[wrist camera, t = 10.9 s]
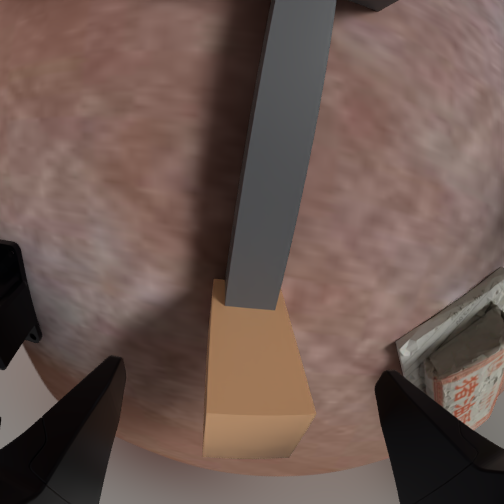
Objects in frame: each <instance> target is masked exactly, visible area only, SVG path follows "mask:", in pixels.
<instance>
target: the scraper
mask: <svg viewBox="0 0 504 504" xmlns="http://www.w3.org/2000/svg"><path fill="white" fill-rule="evenodd" d="M349 1H352V2H355V3H357V4H360V5H363V6H365V7H368V8H370V9H373V10H375V11H378V12H379V11H380V10H382V9H384V8H385V7H387V6H389V5H391V4H393V3H394V2H396V1H398V0H349ZM335 7H336V0H271V5H270V10H269V15H268V20H267V25H266V30H265V35H264V41H263V46H262V51H261V57H260V62H259V68H258V73H257V79H256V84H255V90H254V96H253V101H252V107H251V113H250V119H249V125H248V131H247V137H246V143H245V149H244V155H243V161H242V168H241V174H240V180H239V187H238V193H237V200H236V206H235V213H234V220H233V227H232V233H231V240H230V247H229V254H228V262H227V269H226V276H225V280H222V279H214V281H213V290H212V299H211V309H210V318H209V328H208V343H207V359H206V377H205V397H204V422H203V457H213V458H237V459H266V458H289V457H290V455H291V454H292V452H293V451H294V449H295V448H296V446H297V445H298V443H299V442H300V440H301V438H302V437H303V435H304V434H305V432H306V430H307V429H308V427H309V425H310V424H311V422H312V420H313V419H314V417H315V415H316V412H315V408H314V404H313V401H312V397H311V393H310V390H309V386H308V383H307V379H306V375H305V372H304V368H303V365H302V361H301V358H300V354H299V350H298V347H297V343H296V340H295V336H294V333H293V329H292V326H291V322H290V319H289V316H288V312H287V309H286V305H285V302H284V298H283V295H282V292H281V285H282V281H283V276H284V272H285V268H286V264H287V260H288V255H289V251H290V247H291V242H292V238H293V234H294V229H295V225H296V220H297V216H298V211H299V207H300V202H301V197H302V193H303V188H304V183H305V178H306V174H307V169H308V164H309V159H310V154H311V149H312V144H313V139H314V133H315V128H316V123H317V118H318V112H319V107H320V101H321V96H322V90H323V84H324V78H325V72H326V67H327V60H328V54H329V48H330V42H331V35H332V28H333V21H334V15H335Z"/></svg>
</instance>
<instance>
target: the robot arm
mask: <svg viewBox="0 0 504 504" xmlns="http://www.w3.org/2000/svg"><path fill="white" fill-rule="evenodd" d="M12 251H13V252H12ZM13 253H14V254H13ZM41 338H42V333H41V330H40V327H39V324H38V321H37V317H36V314H35V310H34V307H33V303H32V299H31V295H30V291H29V287H28V283H27V279H26V274H25V269H24V264H23V259H22V253H21V249H20V247H19V245H18V244H17V243H15V242H12V241H6V240H0V369H1V370H5V369H6V368H7V366H8V364H9V363H10V361H11V360H12V358H13V357H14V355H15V354H16V352H17V350H18V349H19V347H20V346H21V344H22V343H23V341H24V340H28V341H31V342H34V343H38V342H39V341H40V340H41ZM125 382H126V372H125V366H124V361H123V358H121V357H118V356H112V355H111V356H109V357H108V358H107V359H105V360H104V361H103V362H102V363H101V364H100V365H99V366H98V367H96V368H95V369H94V370H93V371H92V372H91V373H90V374H89V375H87V376H86V377H85V378H84V379H83V380H82V381H81V382H80V383H79V384H77V385H76V386H75V387H74V388H73V389H72V390H71V391H70V392H69V393H67V394H66V395H65V396H64V397H63V398H62V399H61V400H60V401H59V402H57V403H56V404H55V405H54V406H53V407H52V408H51V409H50V410H49V411H48V412H46V413H45V414H44V415H43V416H42V418H40V419H39V420H38V421H37V422H35V424H33V425H32V426H31V427H30V428H29V429H27V430H26V431H25V432H24V433H23V434H21V435H20V436H19V437H17V438H16V439H15V440H13V441H12V442H10V443H9V444H8V445H6V446H5V447H3V448H2V449H0V504H99V501H100V496H101V491H102V487H103V482H104V478H105V473H106V469H107V465H108V461H109V457H110V453H111V448H112V445H113V441H114V438H115V434H116V430H117V427H118V423H119V418H120V412H121V406H122V399H123V393H124V387H125ZM375 395H376V400H377V406H378V412H379V418H380V423H381V427H382V431H383V435H384V438H385V442H386V446H387V450H388V454H389V458H390V461H391V466H392V470H393V474H394V478H395V482H396V487H397V491H398V496H399V501H400V504H504V449H503V448H501V447H499V446H497V445H496V444H494V443H492V442H491V441H489V440H487V439H486V438H484V437H483V436H481V435H480V434H478V433H477V432H475V431H474V430H472V429H471V428H470V427H468V426H467V425H465V424H464V423H463V422H462V421H460V420H458V418H456V417H455V416H454V415H452V414H451V413H450V412H449V411H447V410H446V409H445V408H443V407H442V406H441V405H440V404H438V403H437V402H436V401H434V400H433V399H432V398H430V397H429V396H428V395H427V394H425V393H424V392H423V391H421V390H420V389H419V388H418V387H416V386H415V385H414V384H412V383H411V382H410V381H409V380H407V379H406V378H405V377H403V376H402V375H401V374H400V373H398V372H397V371H396V370H386V371H384V372H383V373H382V375H381V377H380V378H379V380H378V381H377V383H376V385H375ZM0 425H1V417H0Z"/></svg>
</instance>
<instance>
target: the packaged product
mask: <svg viewBox="0 0 504 504" xmlns="http://www.w3.org/2000/svg"><path fill="white" fill-rule="evenodd" d="M396 346H397V351H398V356H399V360H400V364H401V368H402V373H403V377H405V378H406V379H407V380H409V381H410V382H411V383H412V384H414V385H415V386H416V387H418V388H419V389H420V390H421V391H423V392H424V393H425V394H427V395H428V396H429V397H430V398H432V399H433V400H434V401H436V402H437V403H438V404H440V405H441V406H442V407H443V408H445V409H446V410H447V411H449V412H450V413H451V414H452V415H454V416H455V417H456V418H458V420H460V421H462V422H463V423H464V424H465V425H467V426H468V427H470V428H471V429H472V430H474V429H476V428H477V427H478V426H480V425H481V424H483V423H484V422H485V421H486V420H487V419H488V418H489V416H490V415H491V413H492V410H493V407H494V405H495V403H496V400H497V397H498V395H499V392H500V389H501V386H502V384H503V380H504V268H503V267H500V268H499V269H497V270H496V271H495V272H494V273H492V274H491V275H490V276H489V277H488V278H486V279H485V280H484V281H482V282H481V283H480V284H479V285H477V286H476V287H475V288H473V289H472V290H471V291H470V292H468V293H467V294H465V295H464V296H463V297H461V298H460V299H458V300H457V301H455V302H454V303H452V304H451V305H450V306H448V307H447V308H446V309H444V310H443V311H441V312H440V313H438V314H437V315H436V316H434V317H433V318H431V319H430V320H428V321H427V322H425V323H424V324H422V325H420V326H418V327H416V328H415V329H413V330H412V331H410V332H409V333H408V334H406V335H405V336H403V337H402V338H400V339H399V340H397V341H396Z"/></svg>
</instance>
